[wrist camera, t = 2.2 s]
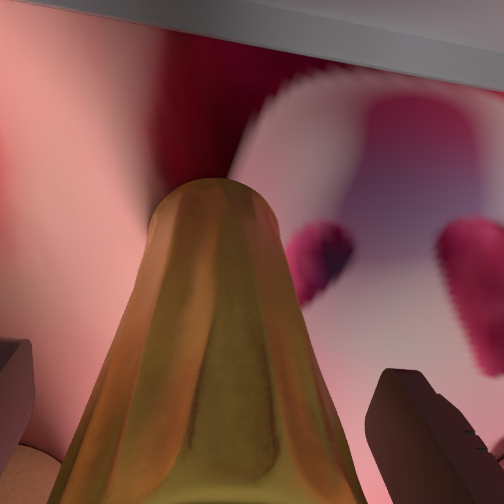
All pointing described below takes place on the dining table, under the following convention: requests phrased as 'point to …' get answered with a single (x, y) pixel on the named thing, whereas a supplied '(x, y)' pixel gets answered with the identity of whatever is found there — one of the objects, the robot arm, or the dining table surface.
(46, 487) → the plant pot
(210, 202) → the vase
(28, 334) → the dining table surface
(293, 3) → the screen
